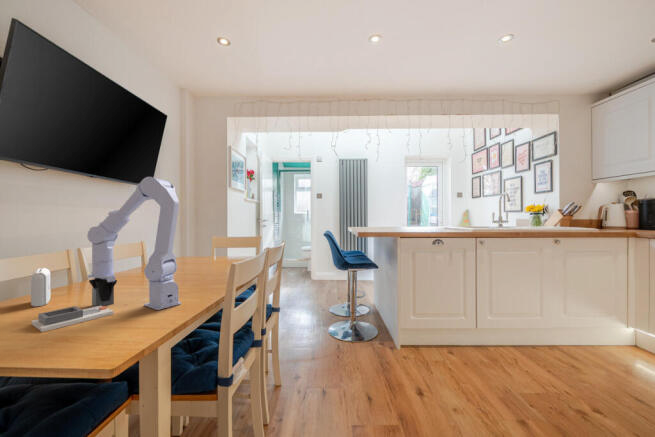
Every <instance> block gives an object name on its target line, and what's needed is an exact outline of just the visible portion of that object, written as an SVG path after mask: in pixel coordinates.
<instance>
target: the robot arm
mask: <svg viewBox="0 0 655 437" xmlns="http://www.w3.org/2000/svg"><path fill="white" fill-rule="evenodd" d="M150 200H154V202H156V203H157V204H158V205H159V207H160V209H159V214H158V222H157V229H156V237H155V245H154V251H153V252H152V254H151V255H150V256H149V258H148V262H147V264H146V265H145V267H144V270H143V273H144V276H145V278H146V279H147V280H148V288H149V290H148V294H149V296H148V301H149V302H146V303H143V306H144V307H147V308H150V309H153V310H156V311H160V310H163V309H167V308H171V307H174V306H178V305H181V304H182V302H181V301H179V285H178V283H177V282H175V281H174V274H175V273H176V272H177V270H178V264H177V260H176V259H177V257H176V254H175V253H174V252H173V249H174V243H175V241H174V240H175V235H176V228H177V223H178V222H177V221H178V214H179V209H180V208H179V207H180V201H179V199H178V196H177V193H176V187H175V186H174V185H173V183H171V181H168V180H166V179H160V178H155V177H153V176H146V177H144V178H143V179H142V180H141V181H140V182H139V183H138V184H136V189H135V191H134V192H133V193H132V194H130V196H129V198H128V199H127V200H126V201H125V203H124V204H123V205H122V206H121V207H120V208H119V209H114V210H112V211H109V212H108V213H107V214H108V215H107V216H106V217H105V218H104V219H103V221H101V222H100V223H99V224H98V225H97V226H92V227H89V230H88V231H87V234H86V235H87V239H88V241H89V242H90V243H91V244H92V245H91V264H92V266H91V270H92V271H91V273H90V274H89V275H87V278H89V281H88V282H89V284H90V285H91V287H92V288H98V289H99V292H100V298H101V301H102V302H104V301H109V300H110V297H111V293H112V290H113V288H114V289H115V285H116V284H117V282H118V280H117V279H116V274H115V272H114V247H115V243H116V240H117V239H118V236H119V234H118V233H120V231H121V230H122V229H123V228H124V227H125V226H126V225H127V224H128V223H129V222H130V221H131V219H130V215H132V214H133V213H134V212H135V211H136V210H137V209H138V208H139V207H140V206H141V205H142V204H144V203H145V202H146V201H150ZM91 278H93V279H91Z"/></svg>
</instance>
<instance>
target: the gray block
mask: <svg viewBox="0 0 655 437" xmlns="http://www.w3.org/2000/svg"><path fill="white" fill-rule="evenodd" d="M114 300H115V287H114V288H113V290H112V293H111V297H110V300H109V301H104V302H102V301H101V298H100V292H99V289H98V288H93V287H92V289H91V306H92V307H96V306H105V307H107V306H110V305H114V304H115V301H114Z"/></svg>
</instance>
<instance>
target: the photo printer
mask: <svg viewBox="0 0 655 437" xmlns="http://www.w3.org/2000/svg"><path fill="white" fill-rule="evenodd" d="M51 293H52V292H51V271H50V270H49V269H48V268H46V267H41V268H40V267H39V268H37V269H36V270H34V271H33V273H32V274H31V275H30V305H31V307H35V308H36V307H42V306H45V305H47V304H48V303H49V302H50V300H51Z"/></svg>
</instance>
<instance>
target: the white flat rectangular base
mask: <svg viewBox="0 0 655 437" xmlns="http://www.w3.org/2000/svg"><path fill="white" fill-rule="evenodd" d="M111 315H114V310H112V309H110V308H108V307H107V306H96V307H93V306H92V307H89V308H83V309H82V308H80V307H78V306H75V305H74V306H68V307H65V308H59V309H56V310H50V311H46V312H45V311H44V312H40V313H38V316H37V318H38V319H35V320H31V325H32V326H34V327H35V328H36V329H37V330H39V331H40V332H42V333H43V332H48V331H51V330H55V329H60V328H64V327H69V326H71V325H76V324H80V323H85V322H88V321H92V320H97V319H99V318H104V317H107V316H111Z"/></svg>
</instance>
